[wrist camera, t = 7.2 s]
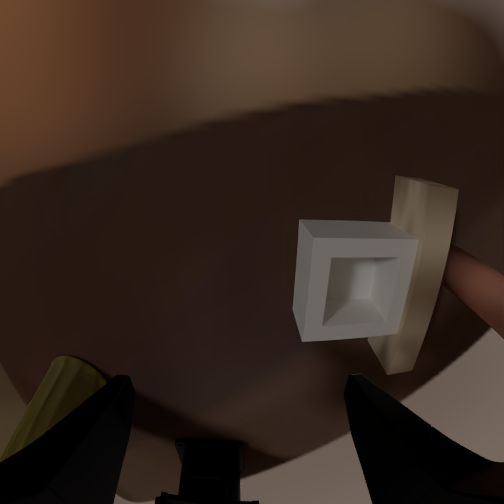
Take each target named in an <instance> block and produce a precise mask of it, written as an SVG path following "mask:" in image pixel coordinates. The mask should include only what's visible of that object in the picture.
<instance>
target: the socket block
mask: <svg viewBox="0 0 504 504" xmlns="http://www.w3.org/2000/svg"><path fill="white" fill-rule="evenodd" d="M417 246H418V239H417V238H415V237H414V236H412V235H410V234H409V233H407V232H406V231H404V230H402V229H401V228H399V227H397V226H396V225H394V224H392V223H391V222H368V221H337V220H299V234H298V249H297V263H296V276H295V288H294V300H293V313H294V316H295V319H296V323H297V326H298V329H299V332H300V336H301V339H302V342H308V341H325V340H339V339H351V338H362V337H372V336H382V335H390V334H397V330H398V327H399V323H400V320H401V316H402V312H403V309H404V305H405V301H406V297H407V293H408V289H409V285H410V280H411V276H412V271H413V266H414V261H415V256H416V251H417Z"/></svg>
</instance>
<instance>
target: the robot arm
mask: <svg viewBox="0 0 504 504" xmlns="http://www.w3.org/2000/svg"><path fill="white" fill-rule="evenodd" d="M344 399H345V404H346V409H347V414H348V420H349V425H350V430H351V435H352V438H353V441H354V445H355V448H356V451H357V454H358V457H359V460H360V464H361V467H362V470H363V474H364V477H365V480H366V484H367V487H368V490H369V494H370V497H371V500H372V504H504V462H494V461H490V460H488V459H485V458H484V457H481V456H480V455H478V454H476V453H474V452H472V451H471V450H469V449H467V448H465V447H463V446H461V445H460V444H458V443H456V442H455V441H453V440H451V439H449V438H448V437H446V436H445V435H444V434H442V433H441V432H439V431H438V430H437V429H435V428H434V427H431V425H430V424H428V423H427V422H426V421H424V420H423V419H421V418H420V417H419V416H417V415H416V414H415V413H413V412H412V411H410V410H409V409H408V408H407V407H405V406H404V405H403V404H401V403H400V402H399V401H397V400H396V399H395V398H393V397H392V396H391V395H389V394H388V393H387V392H385V391H384V390H383V389H381V388H380V387H379V386H377V385H376V384H375V383H373V382H372V381H371V380H370V379H368V378H367V377H366V376H364V375H363V374H361V373H358V374H351V375H349V377H348V380H347V384H346V387H345V391H344ZM134 403H135V391H134V388H133V385H132V382H131V379H130V377H129V376H127V375H116V376H115V377H114V378H112V379H111V380H110V381H109V382H108V383H106V384H105V385H104V386H103V387H101V388H100V389H99V390H98V391H96V392H95V393H94V394H93V395H91V396H90V397H89V398H88V399H86V400H85V401H84V402H83V403H81V404H80V405H79V406H78V407H77V408H75V409H74V410H73V411H72V412H70V413H69V414H68V415H67V416H65V417H64V418H63V419H62V420H60V421H59V422H58V423H57V424H55V425H54V426H53V427H51V429H50V430H48V431H46V432H45V433H44V434H43V435H41V436H40V437H39V438H37V439H36V440H35V441H33V442H32V443H30V444H29V445H27V446H26V447H24V448H23V449H21V450H19V451H18V452H16V453H15V454H13V455H11V456H10V457H8V458H6V459H5V460H3V461H1V462H0V504H113V503H114V498H115V494H116V489H117V485H118V481H119V476H120V472H121V468H122V464H123V460H124V456H125V452H126V448H127V445H128V441H129V436H130V431H131V424H132V417H133V410H134ZM175 446H176V449H177V452H178V455H179V458H180V461H181V464H182V468H181V476H180V484H179V493H178V495H173V494H168V493H166V492H162V493H161V496H160V497H156V499H155V504H259V501H240V473H243V472H244V463H243V443H242V442H238V441H199V440H184V439H177V440H176V441H175Z"/></svg>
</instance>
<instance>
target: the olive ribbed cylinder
mask: <svg viewBox="0 0 504 504" xmlns="http://www.w3.org/2000/svg"><path fill="white" fill-rule="evenodd" d="M106 383H107V381H106V380H105V378H104V377H103V376H102V375H101V374H100V373H99V372H98V371H97V370H96V369H95V368H94V367H92V366H91V365H90V364H88V363H86V362H85V361H83V360H81V359H78V358H75V357H72V356H59V357H57V358H55V359H54V360H53V361H52V363H51V365H50V368H49V370H48V372H47V374H46V376H45V377H44V379H43V381H42V382H41V384H40V386H39V388H38V389H37V391H36V393H35V395H34V397H33V398H32V400H31V402H30V403H29V405H28V407H27V409H26V411H25V413H24V415H23V417H22V419H21V420H20V422H19V424H18V426H17V427H16V429H15V431H14V433H13V435H12V437H11V439H10V441H9V443H8V444H7V447H6V449H5V450H4V452H3V454H2V456H1V458H0V462H1V461H3V460H5V459H6V458H8V457H10V456H11V455H13V454H15V453H16V452H18V451H19V450H21V449H23V448H24V447H26V446H27V445H29V444H30V443H32V442H33V441H35V440H36V439H37V438H39V437H40V436H41V435H43V434H44V433H45V432H46V431H48V430H50V429H51V427H53V426H54V425H55V424H57V423H58V422H59V421H60V420H62V419H63V418H64V417H65V416H67V415H68V414H69V413H70V412H72V411H73V410H74V409H75V408H77V407H78V406H79V405H80V404H81V403H83V402H84V401H85V400H86V399H88V398H89V397H90V396H91V395H93V394H94V393H95V392H96V391H98V390H99V389H100V388H101V387H103V386H104V385H105V384H106Z"/></svg>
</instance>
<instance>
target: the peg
mask: <svg viewBox="0 0 504 504" xmlns="http://www.w3.org/2000/svg"><path fill="white" fill-rule="evenodd" d="M441 284H443V285H444V286H445V287H446V288H447V289H449V290H450V291H451V292H452V293H453V294H455V295H456V296H457V297H458V298H459V299H460V300H462V301H463V302H464V303H465V304H466V305H467V306H468V307H470V308H471V309H472V310H473V311H474V312H475V313H476V314H477V315H479V316H480V317H481V318H482V319H483V320H484V321H485V322H486V323H487V324H488V325H490V326H491V327H492V328H493V329H494V330H495V331H496V332H497V333H498V334H499V335H500V336H501V337H502V338H503V339H504V276H503V275H502V274H500V273H499V272H497V271H496V270H494V269H493V268H491V267H490V266H488V265H486V264H485V263H483V262H482V261H480V260H479V259H477V258H475V257H474V256H472V255H470V254H469V253H467V252H466V251H464V250H462V249H461V248H459V247H457V246H450V247H449V251H448V256H447V261H446V265H445V269H444V273H443V277H442V281H441Z"/></svg>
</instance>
